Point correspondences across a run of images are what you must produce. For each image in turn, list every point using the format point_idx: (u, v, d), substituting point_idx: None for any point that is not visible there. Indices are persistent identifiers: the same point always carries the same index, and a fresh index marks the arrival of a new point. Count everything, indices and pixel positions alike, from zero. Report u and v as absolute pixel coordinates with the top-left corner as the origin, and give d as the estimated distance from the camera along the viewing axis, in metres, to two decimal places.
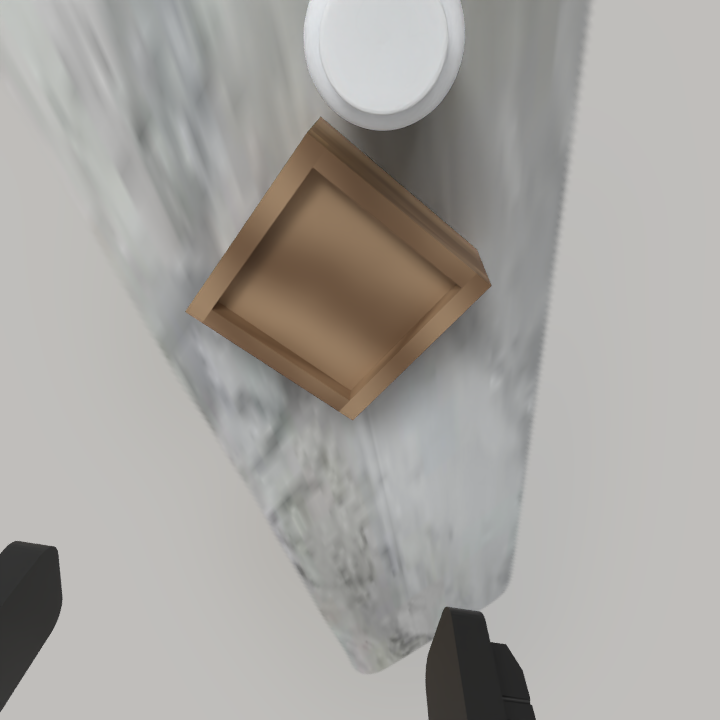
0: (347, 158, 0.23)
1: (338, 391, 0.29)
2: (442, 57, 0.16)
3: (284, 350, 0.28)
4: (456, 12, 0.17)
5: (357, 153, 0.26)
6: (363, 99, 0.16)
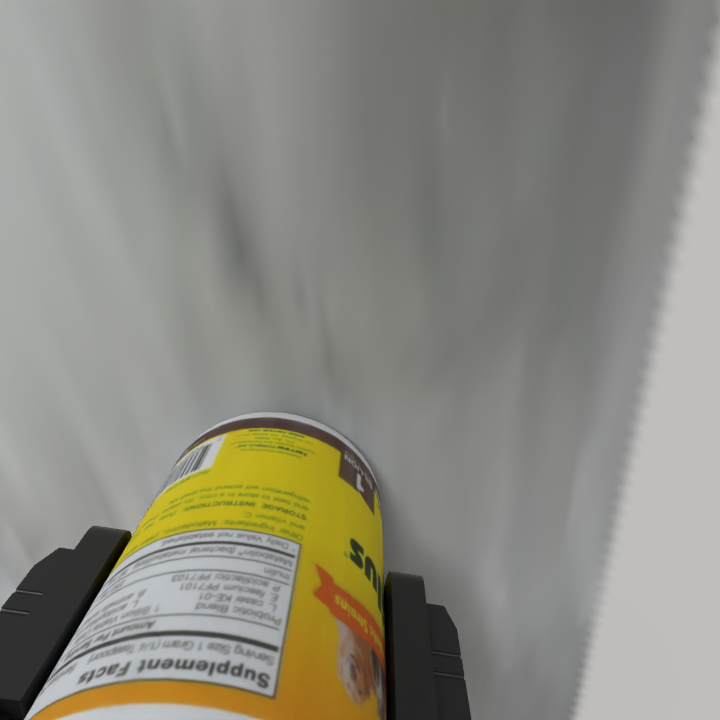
0: None
1: None
2: None
3: None
4: None
5: None
6: None
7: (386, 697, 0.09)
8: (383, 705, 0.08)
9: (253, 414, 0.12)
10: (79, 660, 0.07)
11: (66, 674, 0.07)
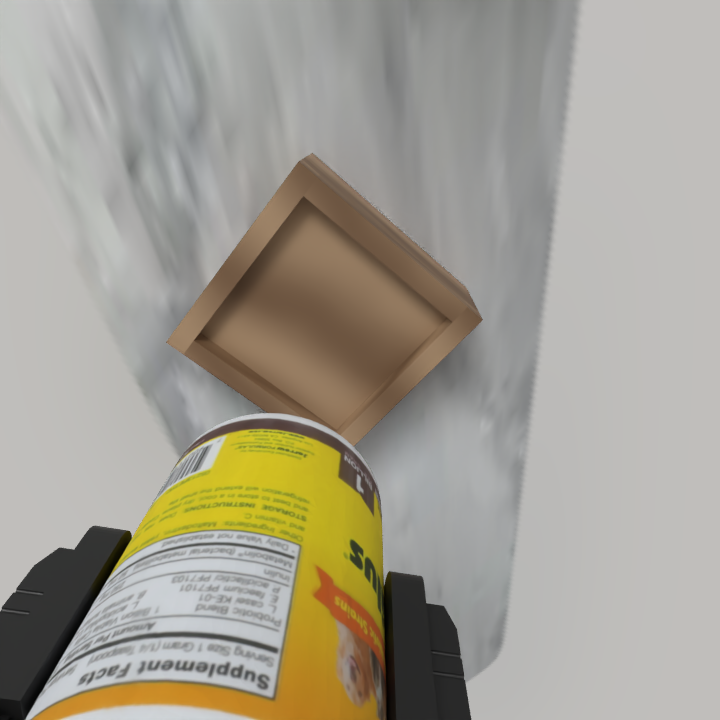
0: (338, 189, 0.23)
1: None
2: None
3: (268, 385, 0.27)
4: None
5: (348, 188, 0.26)
6: None
7: None
8: (383, 706, 0.08)
9: (253, 415, 0.12)
10: (79, 662, 0.07)
11: (66, 675, 0.07)
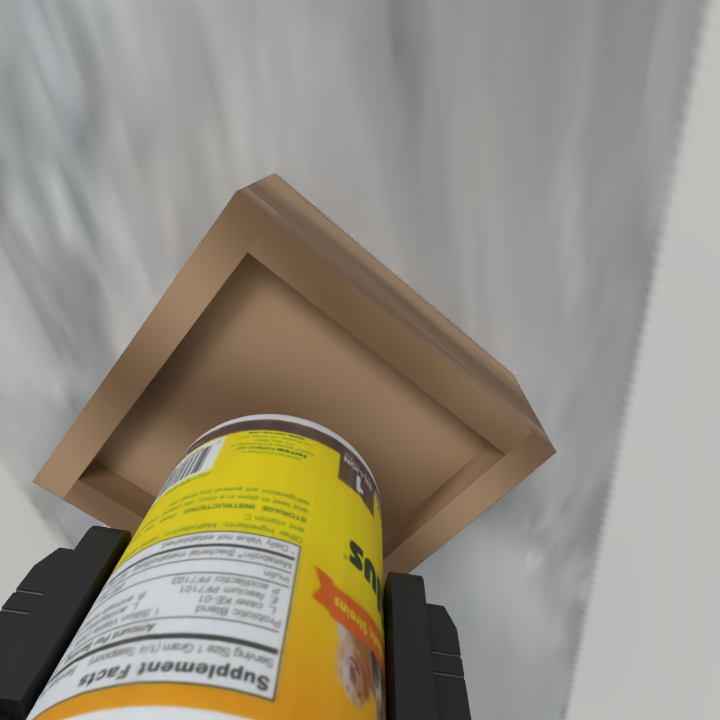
0: (312, 237, 0.14)
1: None
2: None
3: None
4: None
5: (331, 230, 0.16)
6: None
7: (385, 699, 0.09)
8: (382, 707, 0.08)
9: (253, 416, 0.12)
10: (79, 663, 0.07)
11: (66, 676, 0.07)
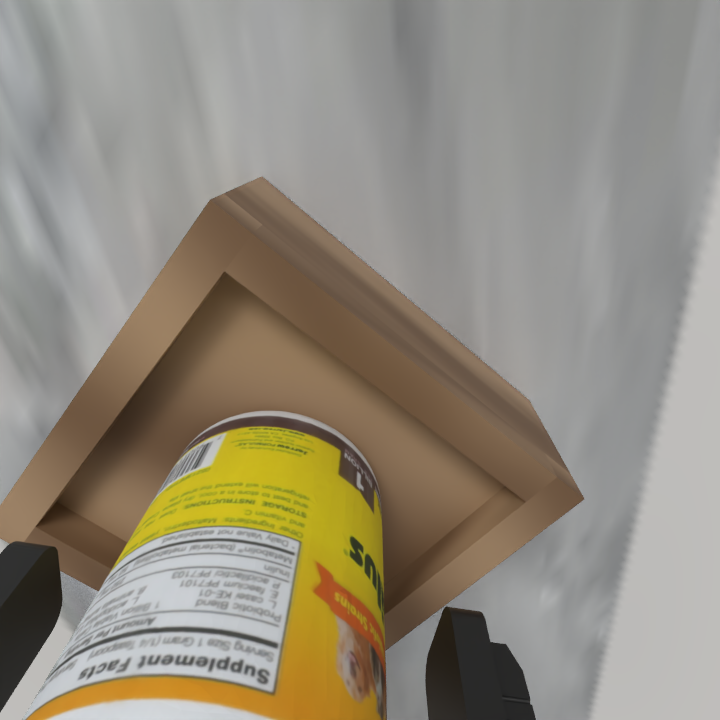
0: (302, 253, 0.12)
1: None
2: None
3: None
4: None
5: (326, 241, 0.14)
6: None
7: None
8: (383, 702, 0.08)
9: (253, 413, 0.12)
10: (79, 657, 0.07)
11: (66, 670, 0.07)
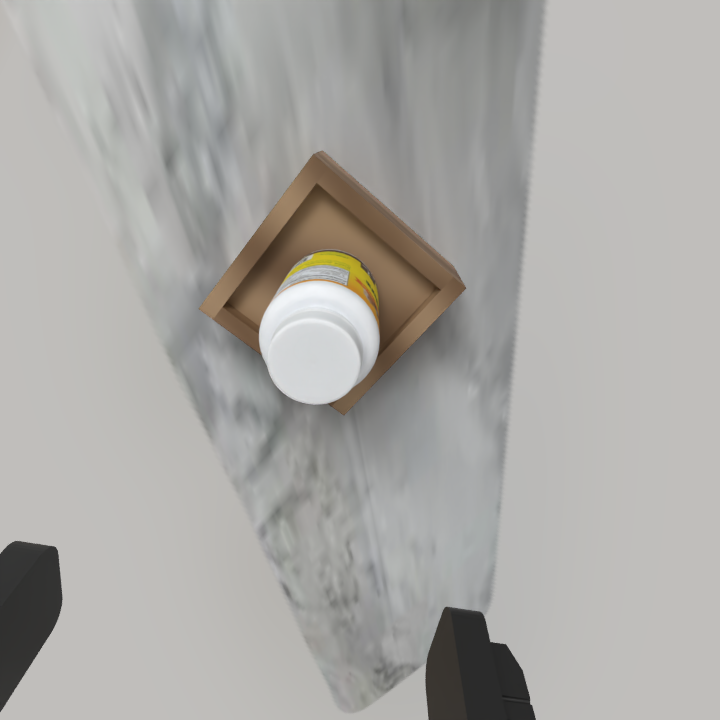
0: (345, 178, 0.28)
1: None
2: (357, 373, 0.21)
3: None
4: (370, 329, 0.23)
5: (352, 179, 0.31)
6: (300, 395, 0.22)
7: None
8: (378, 317, 0.25)
9: None
10: (286, 285, 0.24)
11: (283, 288, 0.24)
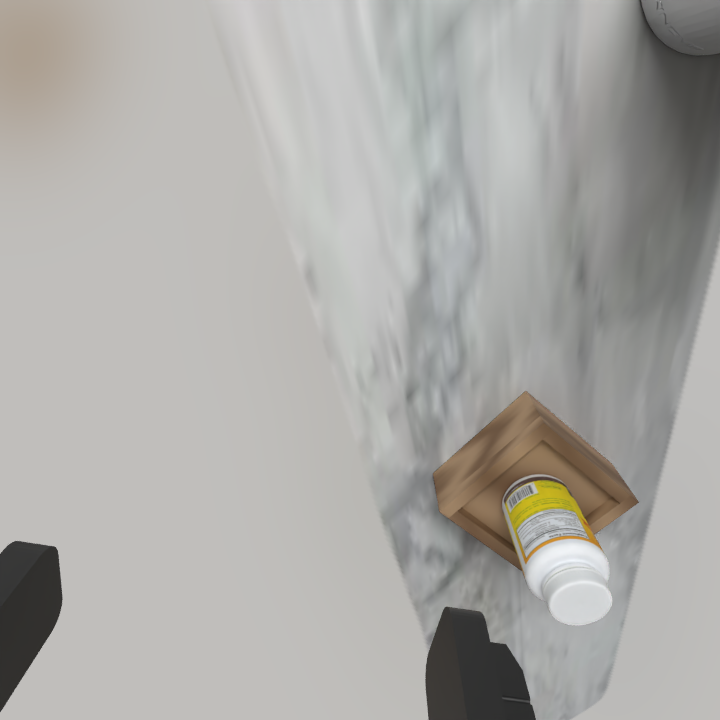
0: (557, 429, 0.39)
1: None
2: (608, 609, 0.32)
3: (494, 533, 0.43)
4: (607, 570, 0.34)
5: (550, 415, 0.42)
6: (566, 621, 0.33)
7: None
8: None
9: (536, 475, 0.40)
10: (544, 534, 0.35)
11: (542, 537, 0.35)
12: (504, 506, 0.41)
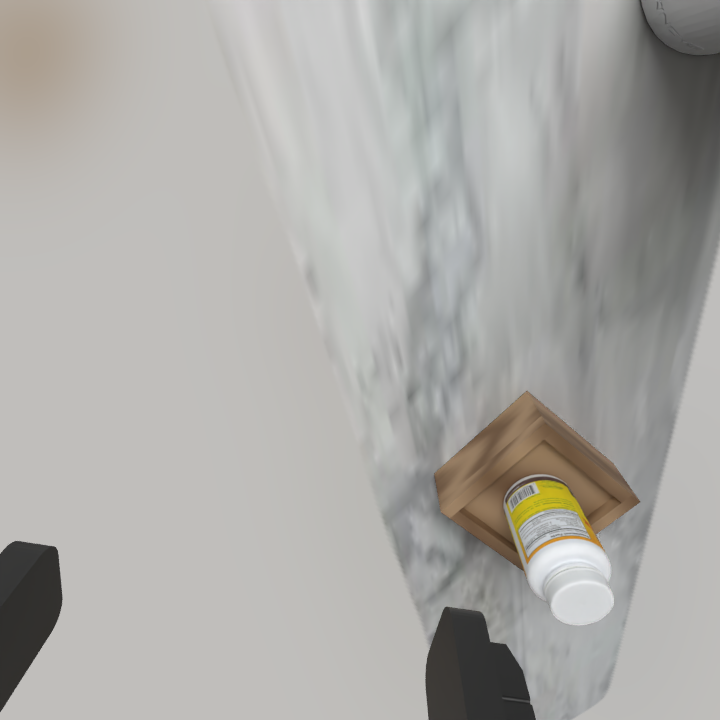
0: (558, 429, 0.39)
1: None
2: (610, 609, 0.33)
3: (495, 533, 0.43)
4: (609, 570, 0.34)
5: (551, 415, 0.42)
6: (568, 621, 0.33)
7: None
8: None
9: (537, 475, 0.40)
10: (545, 534, 0.35)
11: (544, 537, 0.35)
12: (505, 506, 0.41)
